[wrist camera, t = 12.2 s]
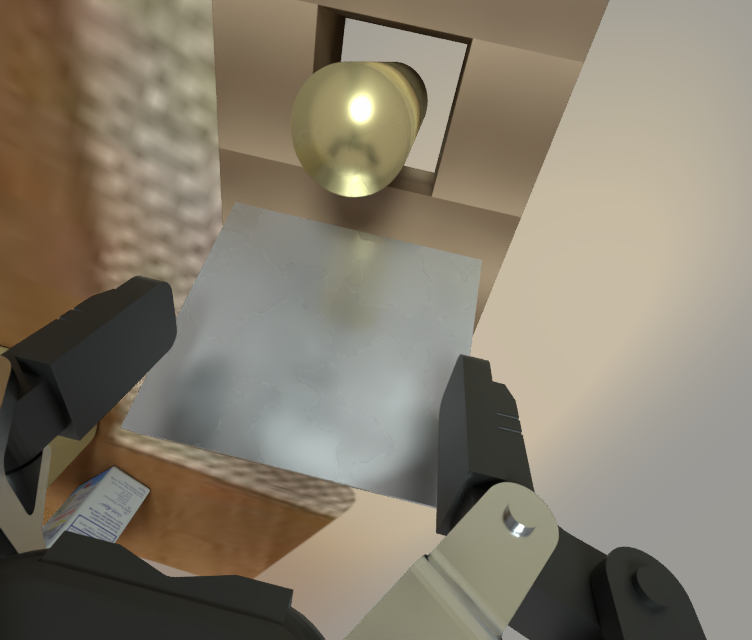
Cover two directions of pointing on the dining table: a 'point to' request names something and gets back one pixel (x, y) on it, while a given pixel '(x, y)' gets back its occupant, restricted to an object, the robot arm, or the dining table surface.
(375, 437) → the steel flap
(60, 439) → the cheese
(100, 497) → the medicine box
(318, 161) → the brass peg
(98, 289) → the dining table surface
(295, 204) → the walnut block
